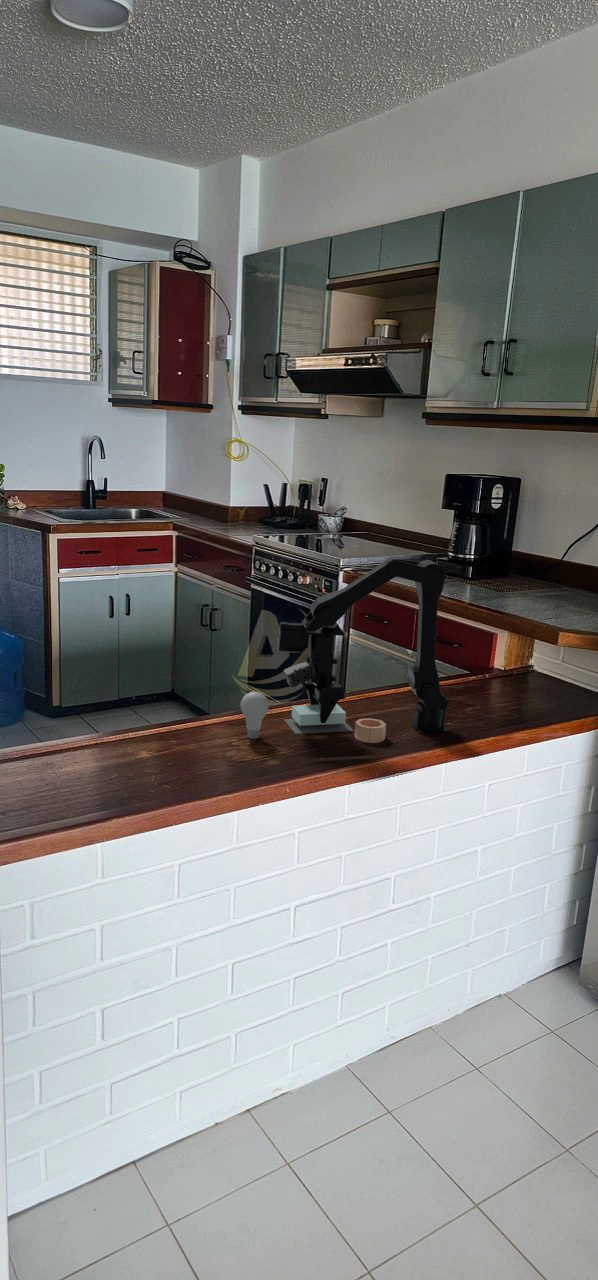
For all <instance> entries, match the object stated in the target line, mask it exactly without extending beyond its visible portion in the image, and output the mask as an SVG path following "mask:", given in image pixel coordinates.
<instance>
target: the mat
mask: <svg viewBox="0 0 598 1280" xmlns="http://www.w3.org/2000/svg"><path fill="white" fill-rule="evenodd" d="M283 722H285V723H286V724H287V725H288V726H289V728H290V729H291V730H292V731H293V733H294V734H300V735H301V734H314V733H315V734H317V733H318V734H319V733H333V732H334V733H337V732H352V731H353V732H355V729H353V727H351V726H350V725H349V724H348V723H347V722H346V721H345V723H343V724H323V725H303V726H300V725H299V724H298V723H297V722H296V721H295V720H294V719H293V718H284V719H283Z"/></svg>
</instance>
